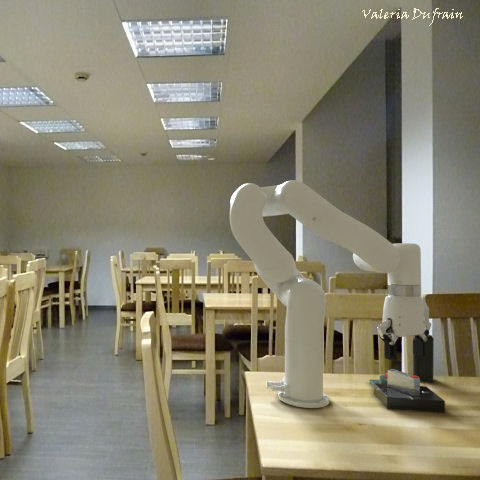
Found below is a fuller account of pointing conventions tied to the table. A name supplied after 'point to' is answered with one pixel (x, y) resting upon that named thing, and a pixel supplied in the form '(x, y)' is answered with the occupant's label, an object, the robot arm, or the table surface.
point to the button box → (381, 380)
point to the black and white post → (425, 364)
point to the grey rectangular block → (404, 382)
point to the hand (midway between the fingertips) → (405, 357)
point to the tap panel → (409, 399)
